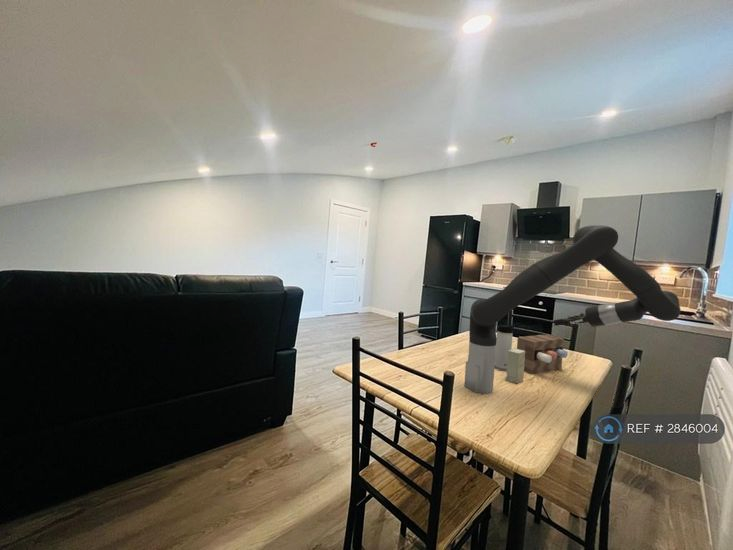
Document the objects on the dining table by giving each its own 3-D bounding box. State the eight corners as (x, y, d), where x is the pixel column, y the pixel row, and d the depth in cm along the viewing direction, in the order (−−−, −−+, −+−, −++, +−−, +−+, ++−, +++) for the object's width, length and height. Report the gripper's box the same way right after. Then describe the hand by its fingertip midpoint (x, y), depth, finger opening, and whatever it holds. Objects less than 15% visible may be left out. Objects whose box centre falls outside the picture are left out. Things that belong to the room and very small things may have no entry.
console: (531, 374, 124) (534, 342, 123) (515, 367, 131) (517, 337, 130) (561, 369, 132) (563, 338, 131) (544, 362, 139) (546, 334, 138)
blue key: (562, 358, 127) (563, 351, 127) (552, 355, 131) (553, 348, 131) (567, 357, 128) (567, 350, 128) (557, 354, 132) (557, 347, 132)
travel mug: (509, 372, 124) (512, 326, 123) (492, 368, 128) (496, 324, 127) (512, 368, 129) (515, 324, 128) (496, 364, 133) (499, 322, 132)
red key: (552, 359, 124) (552, 352, 124) (542, 356, 128) (542, 349, 128) (557, 359, 125) (557, 351, 125) (547, 355, 129) (547, 348, 129)
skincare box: (516, 384, 113) (519, 353, 112) (505, 380, 116) (507, 350, 115) (523, 380, 117) (526, 350, 116) (512, 376, 120) (514, 347, 119)
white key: (546, 363, 119) (547, 355, 119) (536, 359, 123) (536, 352, 123) (551, 362, 121) (552, 355, 120) (541, 359, 125) (541, 351, 124)
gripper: (604, 302, 112) (556, 311, 126) (595, 308, 104) (545, 317, 117) (612, 320, 111) (563, 327, 125) (603, 329, 103) (552, 335, 116)
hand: (554, 322), depth 121 cm, fingers closed
